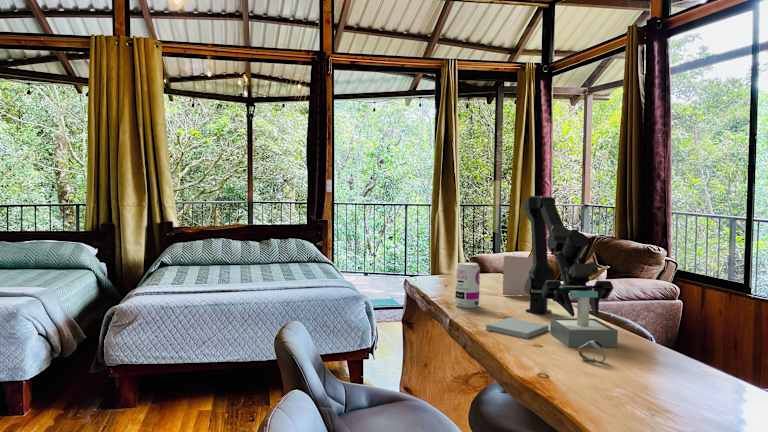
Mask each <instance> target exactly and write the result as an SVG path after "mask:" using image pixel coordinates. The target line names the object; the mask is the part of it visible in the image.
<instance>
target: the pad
mask: <svg viewBox="0 0 768 432" xmlns="http://www.w3.org/2000/svg"><path fill="white" fill-rule="evenodd" d="M549 325H550V324H544V323H540V322H535V321H534V322H533V321H528V320H524V319H520V318H515V317H507V318H503V319H500V320H497V321H494V322H490V323H487V324H485V330H486V331H489V332H494V333H500V334H502V335H503V334H504V335H508V336H513V337H517V338H521V339H530V338H533V337H535V336H537V335H539V334H543V333H544V332H547V331H549Z"/></svg>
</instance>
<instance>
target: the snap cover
mask: <svg viewBox="0 0 768 432" xmlns="http://www.w3.org/2000/svg"><path fill="white" fill-rule="evenodd" d="M569 297H571V298H577V304H576V305H577V307H576V308H577V311H576V318H577V320H556V321H558V322H559V323H561V324H562V325H564V326H565V327H567V328H568V329H570V330H610V329H609V328H607V327H605V326H603V325H601V324H599V323H597V322H596V321H594V320H589V318H590V304H589V299H590V297H598V292H597V291H570V293H569Z"/></svg>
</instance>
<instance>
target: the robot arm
mask: <svg viewBox="0 0 768 432" xmlns="http://www.w3.org/2000/svg"><path fill="white" fill-rule="evenodd" d="M523 209H524V212H525V215H526V218H527V219H528V221H529V222H530V228H531V229H530V231H531V246H532V258H533V266H532V268H531V269H530V271H529V277H528V279H527V281H526V284H525V286H524V289H525V293H527V294H529V295H530V296H529V308H528V309H525V312H527V313H532V314H537V315H546V314H548V313H551V312H552V310H551V309H548V303H549V302H548V300H552V301H553V302H556V304H557V303H558V305H559V306H561V307H562V308H563V309H564V310H565V311H566V312H567V313H568V314H569V315H570V316H571V317H575V315H576V314H575V310H574V307H573V304H572V303H573V302H572V301H571V298H570V291H597V292H598V297H590V299H589V307H590V309H591V311H592V313H593V315H594V317H598V316H599V307H600V306H599V305H600V300H606V299H608V298H609V296H610V295H611V293H612V292H613V291H614V285H613V283H612V282H611V280H596V281H595V283H594V285H587V283H589V282H590V277H593V276H594V275H595V276H596V275H597V274H598V273H599V270H600V269H599V266H598V263H597V262H593V261H590V262H588V263H580V262H579V259H581V258H582V257H583V254H584V253H585V252H586V249H587V247H588V245H589V243H590V239H589V237H587V235H585V234H584V233H582V232H580V231H579V229H575V228H573V229H571V230H570V229H569V228H567V227H565V225H564V222H563V221H562V218H561V215H560V214H559V211H558V209H557V206H556V199H555V198H554V197H552V196H547V195H546V196H545V195H528V196H527V197H526V198H525V199H524V201H523ZM547 231H548V237H547ZM548 249H549V251H550V253H554V254H556V253H557V255H556V257H555V259H556V260H555V266H556V267H557V266H558V270H559V272H560V277H559V279H560V280H556V278H555V270H554V268H553V267H551V266H550V265H549V261H548ZM561 281H562V283H561Z"/></svg>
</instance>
